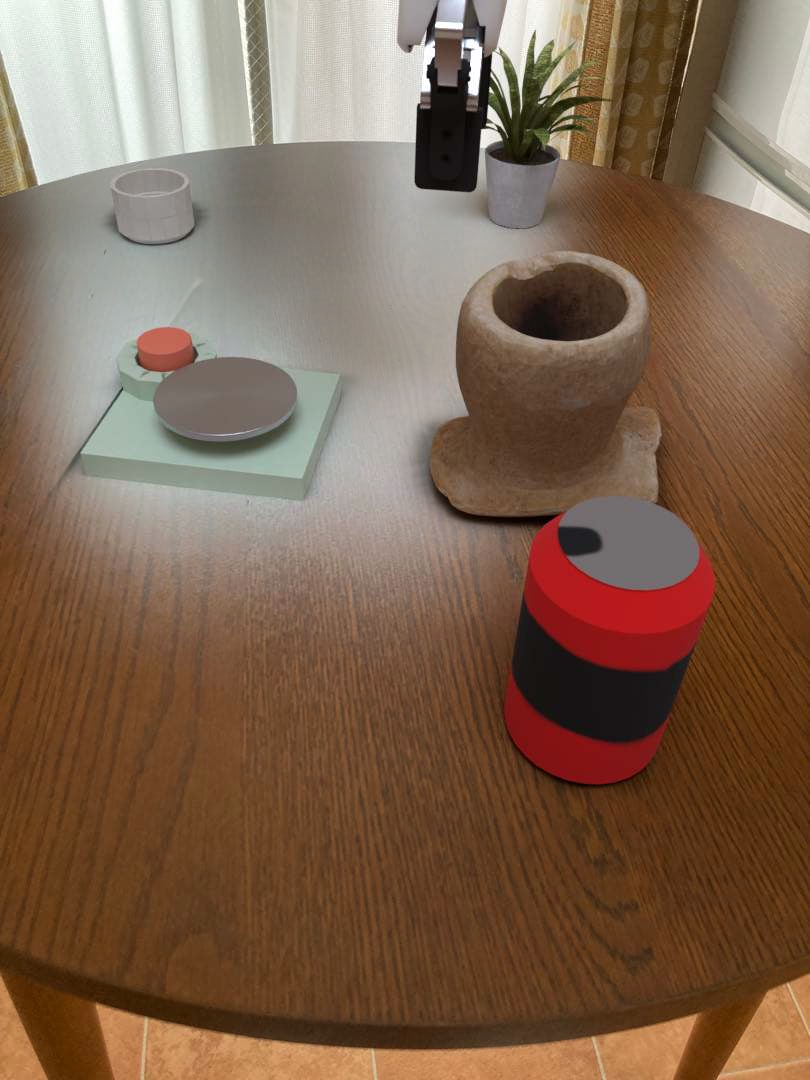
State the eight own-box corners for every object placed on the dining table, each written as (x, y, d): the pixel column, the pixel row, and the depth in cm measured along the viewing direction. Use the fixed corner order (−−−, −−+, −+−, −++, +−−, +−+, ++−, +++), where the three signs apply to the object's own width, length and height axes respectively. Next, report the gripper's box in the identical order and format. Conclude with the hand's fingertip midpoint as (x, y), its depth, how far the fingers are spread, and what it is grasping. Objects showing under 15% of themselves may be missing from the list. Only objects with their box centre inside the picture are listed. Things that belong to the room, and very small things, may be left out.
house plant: (486, 265, 82) (505, 66, 71) (408, 208, 91) (415, 23, 80) (611, 235, 88) (646, 46, 77) (526, 184, 96) (547, 8, 85)
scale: (74, 475, 58) (62, 430, 56) (145, 370, 67) (137, 327, 65) (303, 502, 57) (301, 457, 54) (343, 391, 66) (342, 348, 64)
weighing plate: (133, 433, 56) (131, 426, 55) (180, 356, 62) (179, 350, 62) (278, 449, 55) (277, 442, 55) (311, 370, 62) (310, 363, 61)
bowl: (108, 242, 83) (98, 193, 80) (135, 212, 88) (127, 165, 85) (181, 249, 82) (174, 200, 79) (204, 219, 87) (198, 171, 84)
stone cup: (439, 556, 54) (457, 324, 44) (422, 436, 62) (434, 220, 52) (693, 550, 55) (767, 322, 45) (641, 433, 63) (693, 221, 53)
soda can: (492, 665, 48) (519, 483, 40) (636, 660, 48) (691, 480, 40) (516, 793, 42) (553, 611, 34) (678, 785, 43) (752, 605, 34)
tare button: (132, 371, 62) (128, 350, 60) (150, 344, 64) (147, 324, 63) (184, 376, 61) (181, 356, 60) (200, 349, 64) (198, 329, 63)
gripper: (412, -258, 46) (404, 103, 58) (360, -249, 34) (362, 212, 45) (562, -252, 46) (523, 110, 57) (567, -241, 33) (516, 223, 44)
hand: (452, 155), depth 51 cm, fingers open, 9 cm apart
